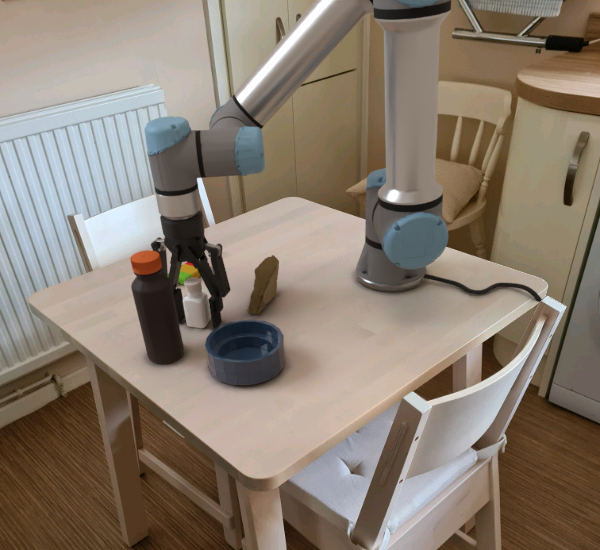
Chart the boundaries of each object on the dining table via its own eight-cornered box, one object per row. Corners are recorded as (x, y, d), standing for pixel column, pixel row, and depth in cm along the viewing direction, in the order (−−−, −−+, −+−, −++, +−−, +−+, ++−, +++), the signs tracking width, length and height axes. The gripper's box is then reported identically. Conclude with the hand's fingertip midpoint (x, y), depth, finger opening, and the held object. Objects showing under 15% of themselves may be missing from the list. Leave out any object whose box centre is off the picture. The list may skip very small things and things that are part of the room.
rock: (261, 313, 122) (297, 289, 126) (237, 275, 120) (275, 252, 125) (240, 323, 132) (275, 301, 136) (218, 289, 130) (254, 267, 134)
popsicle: (212, 269, 143) (211, 261, 142) (168, 297, 133) (167, 290, 132) (194, 264, 146) (193, 257, 144) (150, 292, 136) (148, 284, 135)
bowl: (295, 349, 116) (293, 324, 112) (269, 393, 105) (267, 367, 102) (227, 339, 119) (224, 315, 116) (196, 381, 109) (191, 355, 106)
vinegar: (168, 340, 120) (147, 244, 107) (191, 352, 116) (173, 254, 104) (140, 356, 116) (116, 258, 103) (164, 369, 112) (141, 269, 100)
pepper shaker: (186, 327, 124) (178, 284, 118) (194, 317, 126) (187, 275, 121) (204, 329, 123) (197, 287, 117) (212, 319, 125) (205, 277, 120)
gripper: (240, 208, 110) (252, 319, 124) (141, 200, 116) (163, 307, 130) (223, 225, 105) (238, 339, 119) (120, 215, 110) (145, 325, 124)
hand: (199, 322), depth 124 cm, fingers open, 7 cm apart
